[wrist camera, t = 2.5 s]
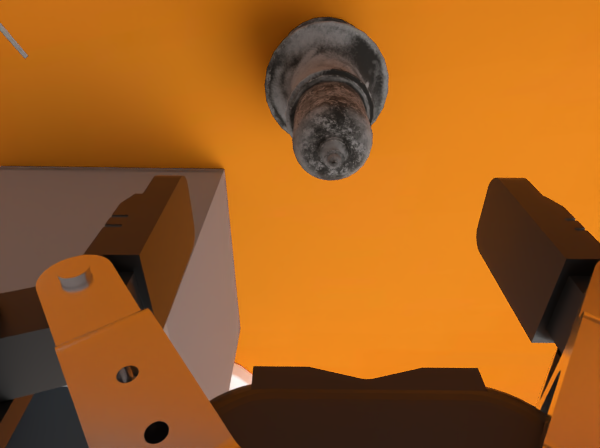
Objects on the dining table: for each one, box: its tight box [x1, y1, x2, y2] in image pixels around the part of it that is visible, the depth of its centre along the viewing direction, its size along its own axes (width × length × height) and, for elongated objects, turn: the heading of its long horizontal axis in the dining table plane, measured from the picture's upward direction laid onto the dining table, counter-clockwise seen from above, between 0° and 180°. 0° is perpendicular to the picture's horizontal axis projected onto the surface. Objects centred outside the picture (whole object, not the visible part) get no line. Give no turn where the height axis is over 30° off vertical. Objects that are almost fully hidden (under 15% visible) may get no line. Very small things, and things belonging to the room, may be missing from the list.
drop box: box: [0, 166, 240, 448], centre depth 25 cm, size 14×14×14 cm
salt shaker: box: [265, 17, 388, 180], centre depth 19 cm, size 6×6×12 cm
